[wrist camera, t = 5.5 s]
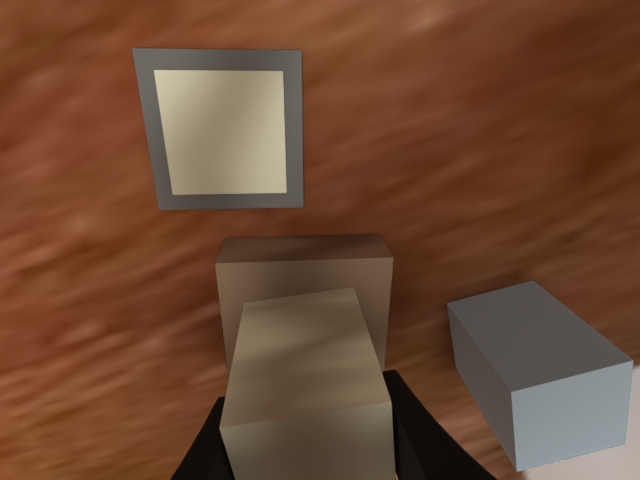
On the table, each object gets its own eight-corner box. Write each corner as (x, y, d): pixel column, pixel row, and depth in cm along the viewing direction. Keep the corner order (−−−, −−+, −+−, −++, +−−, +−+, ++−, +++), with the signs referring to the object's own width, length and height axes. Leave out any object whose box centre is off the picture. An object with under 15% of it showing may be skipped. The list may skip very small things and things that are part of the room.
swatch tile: (301, 51, 14) (301, 50, 13) (303, 204, 16) (303, 208, 16) (136, 49, 14) (129, 48, 13) (162, 207, 16) (157, 211, 15)
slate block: (532, 280, 19) (633, 360, 13) (535, 348, 21) (625, 444, 15) (446, 302, 19) (511, 392, 14) (456, 368, 21) (516, 471, 15)
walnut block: (376, 230, 18) (393, 257, 15) (369, 350, 20) (382, 392, 18) (226, 234, 17) (215, 263, 14) (238, 356, 20) (231, 401, 17)
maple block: (353, 287, 15) (391, 401, 10) (361, 372, 17) (397, 510, 11) (243, 302, 15) (219, 428, 10) (263, 387, 17) (252, 533, 11)
